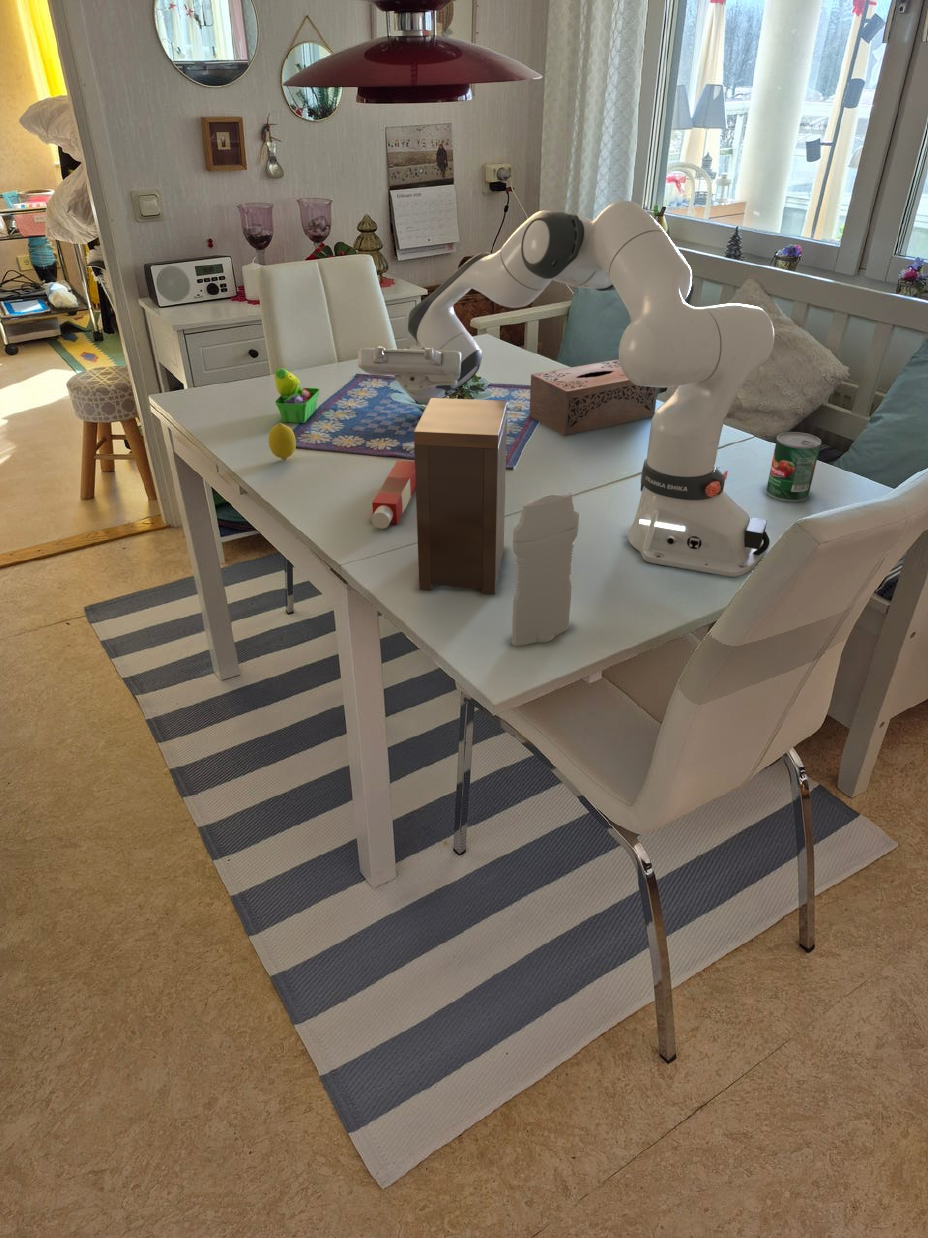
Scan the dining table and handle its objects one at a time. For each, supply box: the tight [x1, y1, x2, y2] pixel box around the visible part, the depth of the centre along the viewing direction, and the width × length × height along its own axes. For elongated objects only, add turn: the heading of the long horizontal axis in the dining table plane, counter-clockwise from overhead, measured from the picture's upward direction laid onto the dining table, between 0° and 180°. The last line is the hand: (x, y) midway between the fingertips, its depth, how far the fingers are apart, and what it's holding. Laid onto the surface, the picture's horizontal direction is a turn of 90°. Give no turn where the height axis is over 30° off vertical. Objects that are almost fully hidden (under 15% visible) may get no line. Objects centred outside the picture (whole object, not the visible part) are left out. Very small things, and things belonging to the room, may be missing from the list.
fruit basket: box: [274, 367, 321, 424], centre depth 200 cm, size 11×9×11 cm
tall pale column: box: [511, 492, 580, 647], centre depth 118 cm, size 11×4×22 cm, turn 120°
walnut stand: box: [413, 397, 508, 595], centre depth 134 cm, size 15×12×26 cm
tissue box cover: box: [528, 358, 659, 436], centre depth 200 cm, size 26×14×10 cm, turn 119°
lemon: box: [268, 422, 297, 461], centre depth 178 cm, size 6×6×8 cm
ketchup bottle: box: [371, 459, 416, 530], centre depth 161 cm, size 23×4×4 cm, turn 171°
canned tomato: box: [765, 431, 822, 503], centre depth 163 cm, size 8×8×11 cm
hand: (403, 351), depth 160 cm, fingers open, 8 cm apart
